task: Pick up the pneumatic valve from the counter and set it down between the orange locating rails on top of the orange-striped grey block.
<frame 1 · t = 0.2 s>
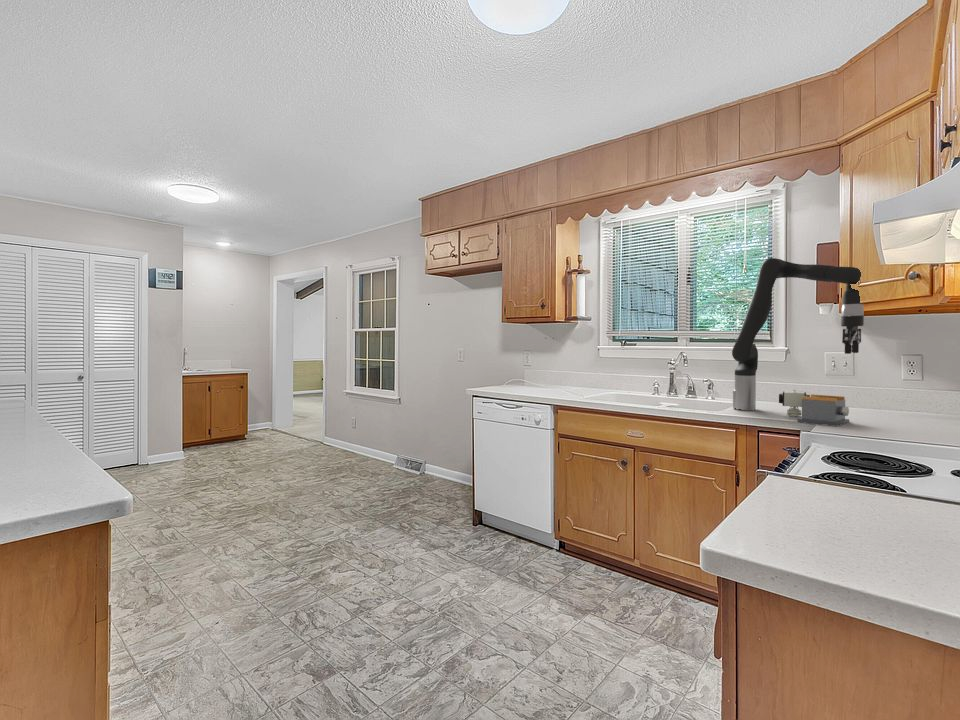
hand: (851, 353, 203), 29 cm above the table, tool pointing down, fingers open, 8 cm apart
pneumatic valve: (794, 416, 217), on the table
orange-striped grey block: (823, 421, 201), on the table
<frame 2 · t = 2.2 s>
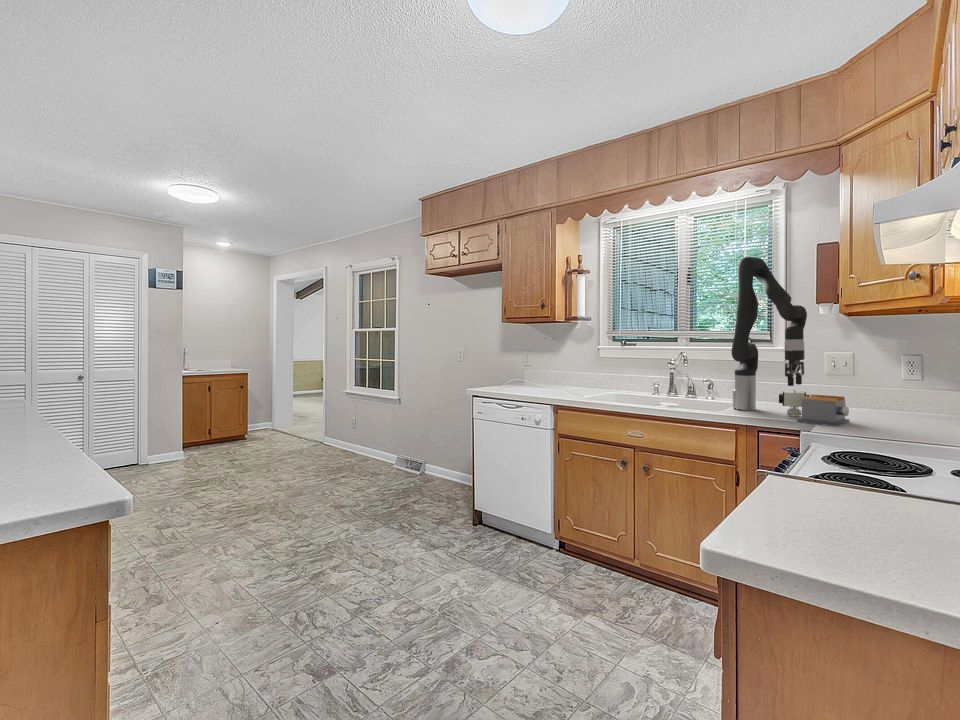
hand: (794, 385, 217), 14 cm above the table, tool pointing down, fingers open, 8 cm apart
nothing on the table moved.
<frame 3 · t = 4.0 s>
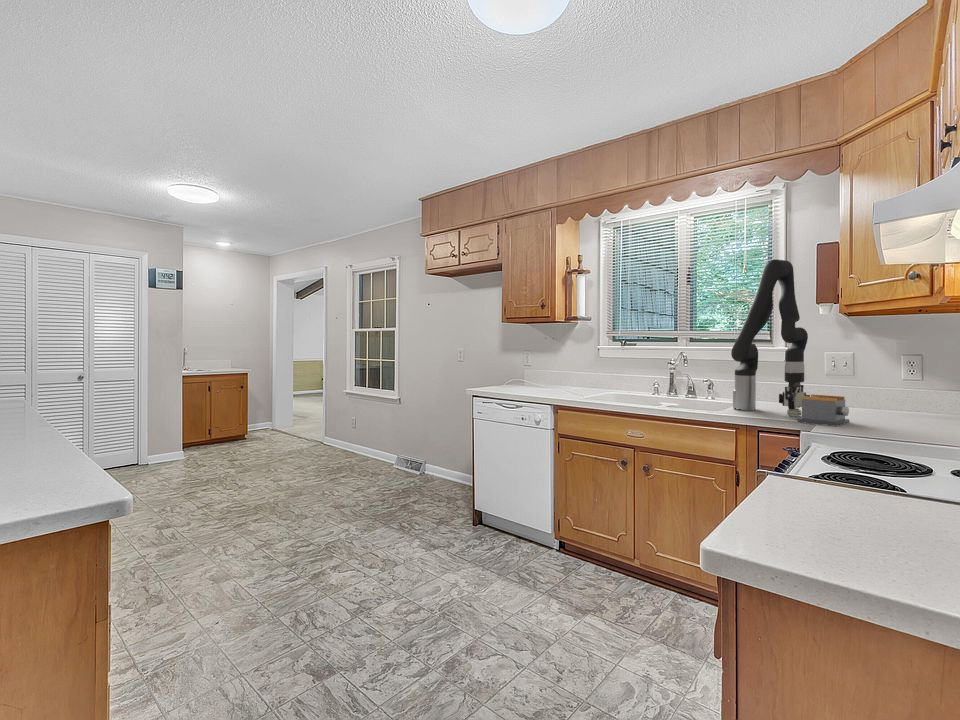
hand: (794, 408, 217), 4 cm above the table, tool pointing down, fingers closed on pneumatic valve, 6 cm apart
pneumatic valve: (794, 416, 217), on the table, touching gripper
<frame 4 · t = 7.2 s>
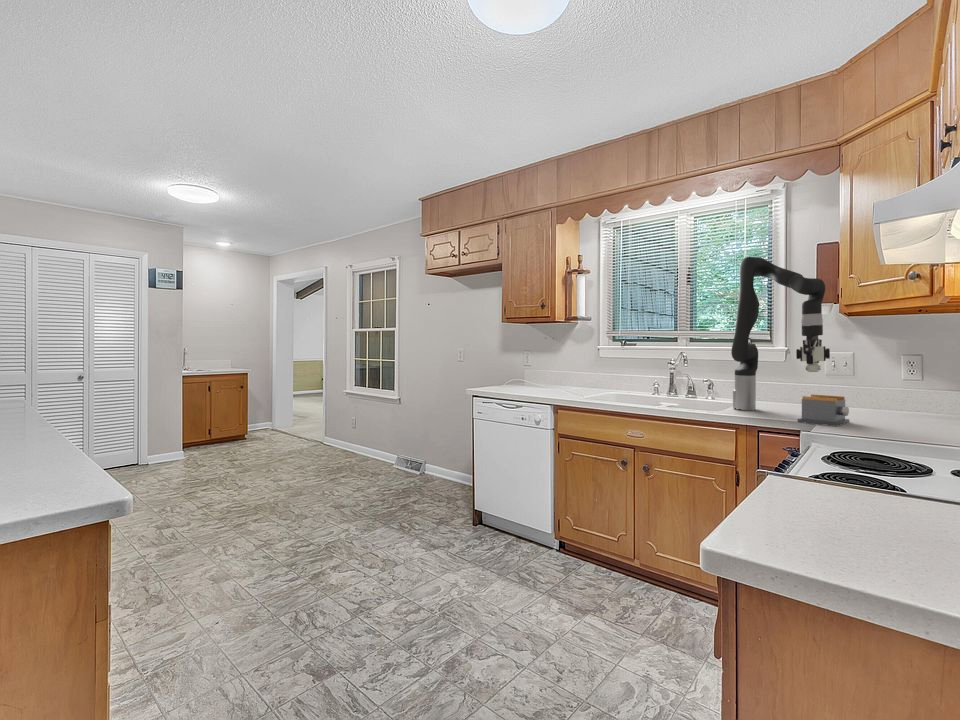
hand: (812, 363, 206), 24 cm above the table, tool pointing down, fingers closed on pneumatic valve, 6 cm apart
pneumatic valve: (813, 372, 206), point 21 cm above the table, touching gripper
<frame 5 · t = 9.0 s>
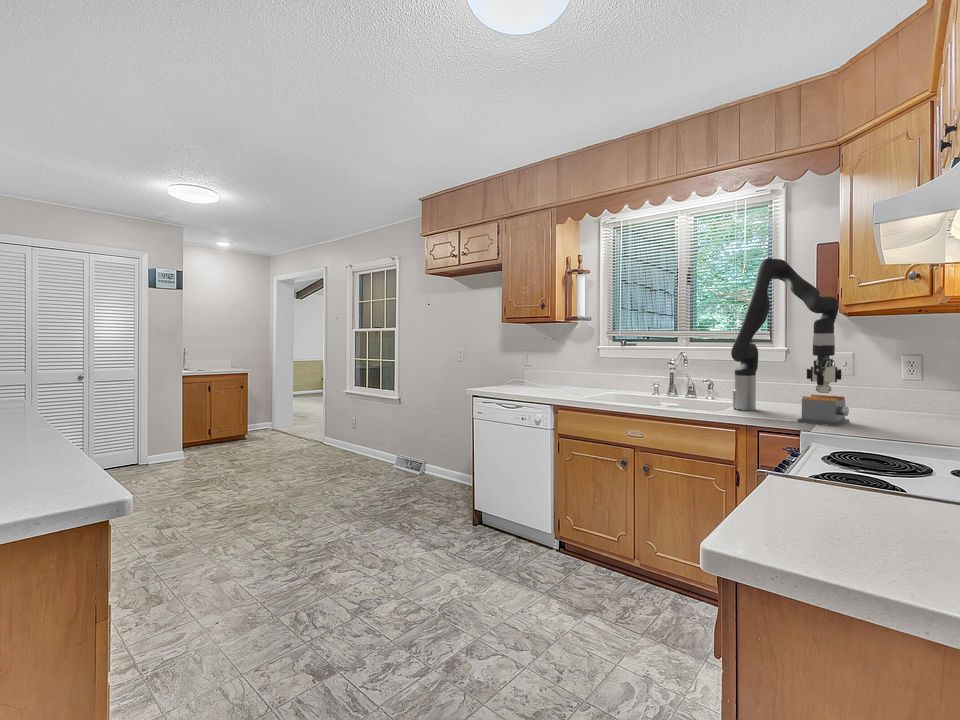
hand: (823, 384, 201), 16 cm above the table, tool pointing down, fingers closed on pneumatic valve, 6 cm apart
pneumatic valve: (823, 393, 201), point 12 cm above the table, touching gripper
when the fingers open (15 cm above the table, at t = 10.2 s): pneumatic valve drops 2 cm, resting on orange-striped grey block.
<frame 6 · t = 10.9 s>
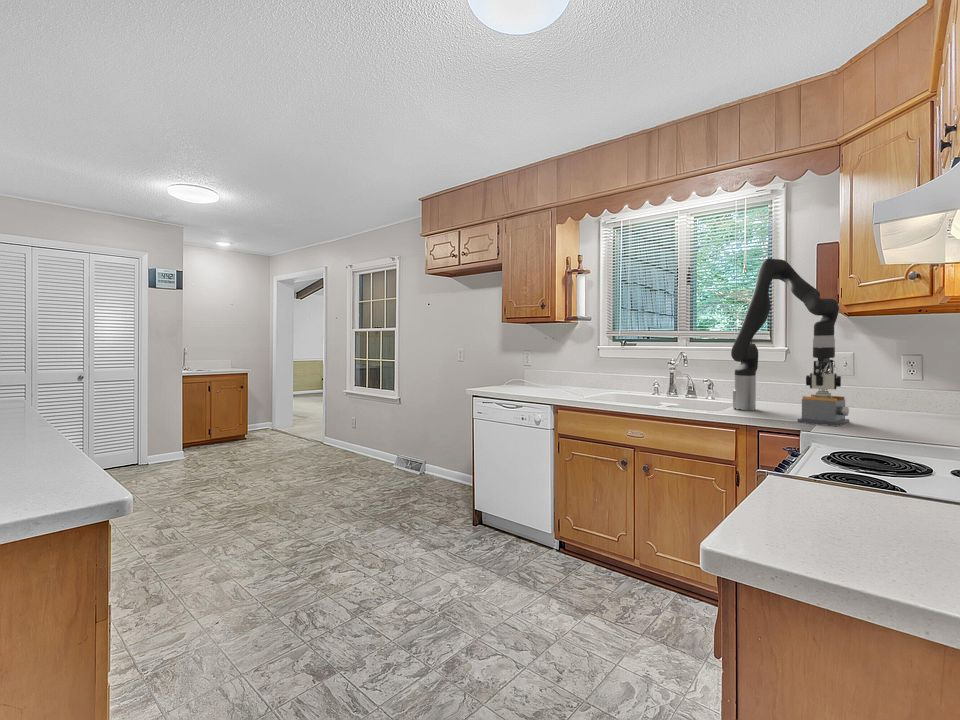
hand: (823, 384, 201), 16 cm above the table, tool pointing down, fingers open, 8 cm apart
pneumatic valve: (823, 399, 201), point 9 cm above the table, touching orange-striped grey block
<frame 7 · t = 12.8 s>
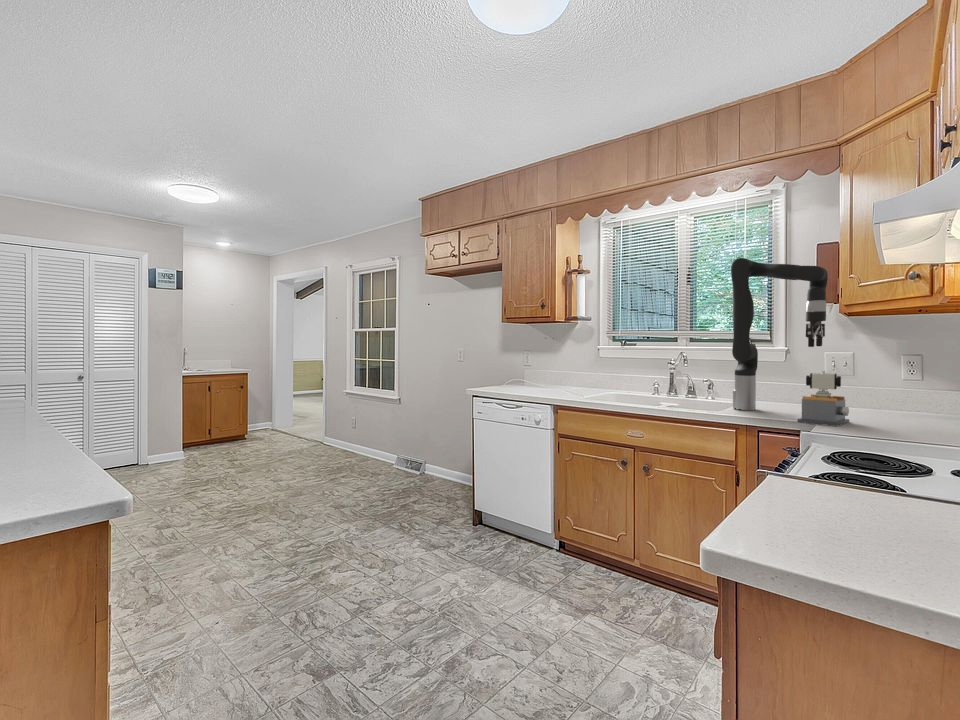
hand: (815, 346, 217), 31 cm above the table, tool pointing down, fingers open, 8 cm apart
nothing on the table moved.
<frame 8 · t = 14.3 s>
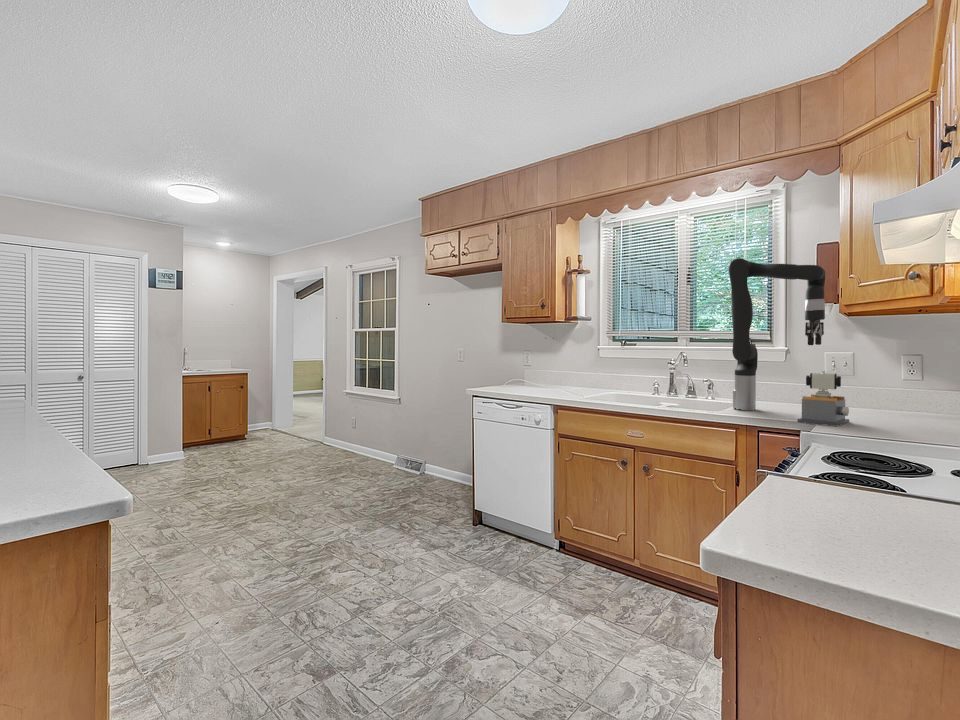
hand: (814, 344, 219), 32 cm above the table, tool pointing down, fingers open, 8 cm apart
nothing on the table moved.
at the end: pneumatic valve 0.0 cm off-centre on the orange-striped grey block, point 9.4 cm above the orange-striped grey block's base; pneumatic valve tilted 0°; the gripper is holding nothing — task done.
